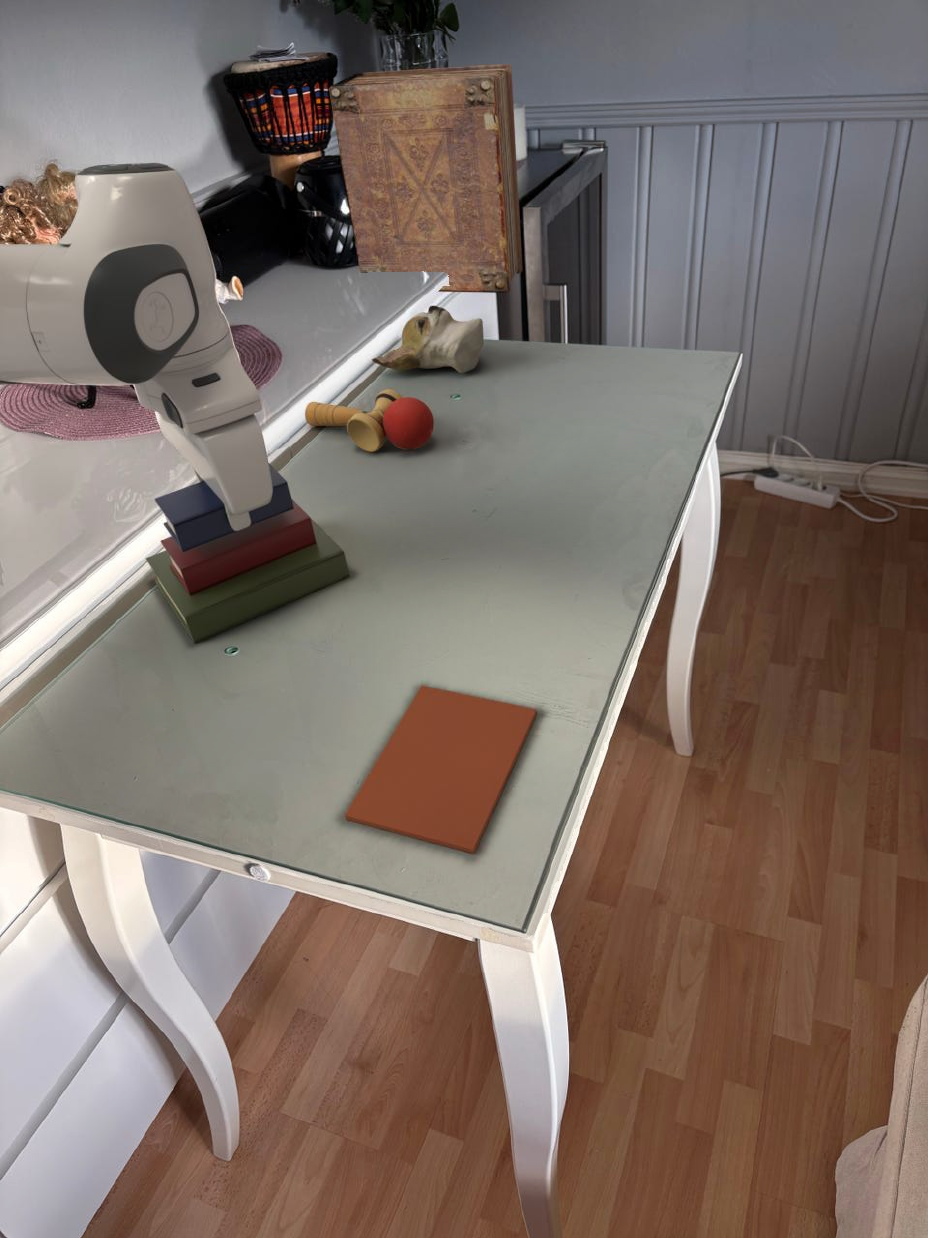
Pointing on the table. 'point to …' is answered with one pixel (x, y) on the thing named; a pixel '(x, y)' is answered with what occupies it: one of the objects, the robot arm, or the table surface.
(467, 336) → the ceramic sculpture
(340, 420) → the kendama
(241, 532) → the burgundy book
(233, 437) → the robot arm
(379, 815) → the rubber mat
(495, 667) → the table surface
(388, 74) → the book
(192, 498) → the navy book
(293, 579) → the olive book
